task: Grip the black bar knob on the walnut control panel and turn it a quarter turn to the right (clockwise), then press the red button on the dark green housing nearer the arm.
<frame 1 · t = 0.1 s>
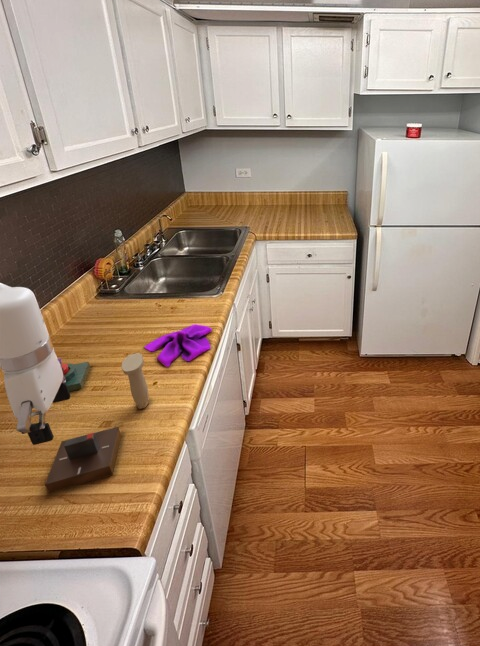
hand: (53, 419, 67), 18 cm above the counter, tool pointing down, fingers open, 9 cm apart
button: (60, 370, 97), point 4 cm above the counter, slide at 0.1 cm
knob: (82, 445, 75), point 5 cm above the counter, hinge at 0.0°
cloth: (179, 346, 113), on the counter
panel: (88, 461, 77), on the counter
handle: (143, 404, 91), on the counter
button box: (64, 382, 98), on the counter
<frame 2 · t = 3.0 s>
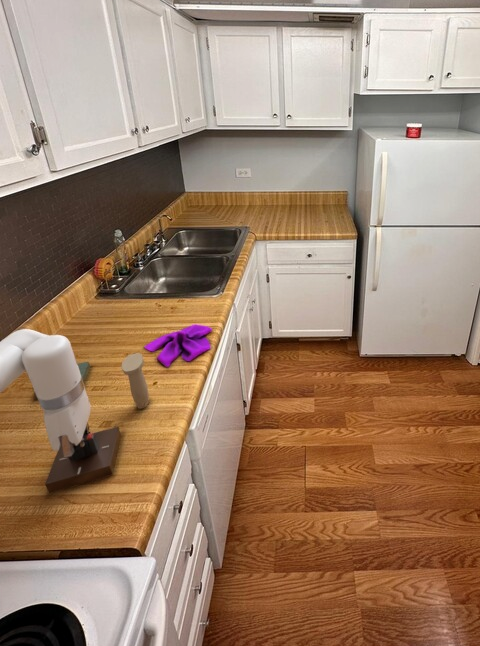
hand: (84, 451, 75), 4 cm above the counter, tool pointing down, fingers closed on knob
knob: (82, 445, 75), point 5 cm above the counter, hinge at 0.0°, touching gripper
everything else where it was.
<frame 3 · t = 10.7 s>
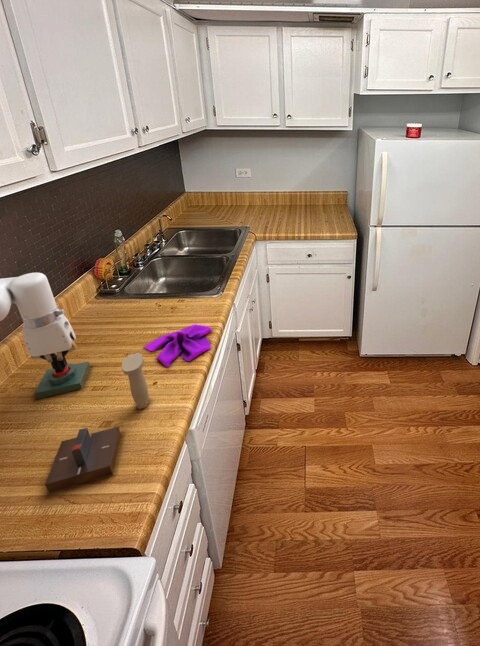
hand: (61, 368, 97), 5 cm above the counter, tool pointing down, fingers closed
button: (61, 371, 97), point 4 cm above the counter, slide at -0.4 cm, touching gripper
knob: (82, 445, 75), point 5 cm above the counter, hinge at -90.0°
everything else where it was.
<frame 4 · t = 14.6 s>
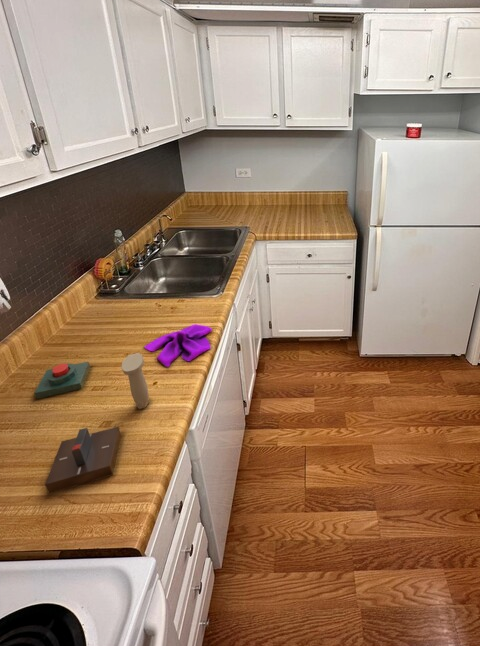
button: (60, 370, 97), point 4 cm above the counter, slide at 0.1 cm
everything else where it was.
at the end: knob at -90° (first picture: +0°); button pushed in 1.1 cm at the most during the clip, back to where it started at the end; button slide at 0.1 cm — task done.
